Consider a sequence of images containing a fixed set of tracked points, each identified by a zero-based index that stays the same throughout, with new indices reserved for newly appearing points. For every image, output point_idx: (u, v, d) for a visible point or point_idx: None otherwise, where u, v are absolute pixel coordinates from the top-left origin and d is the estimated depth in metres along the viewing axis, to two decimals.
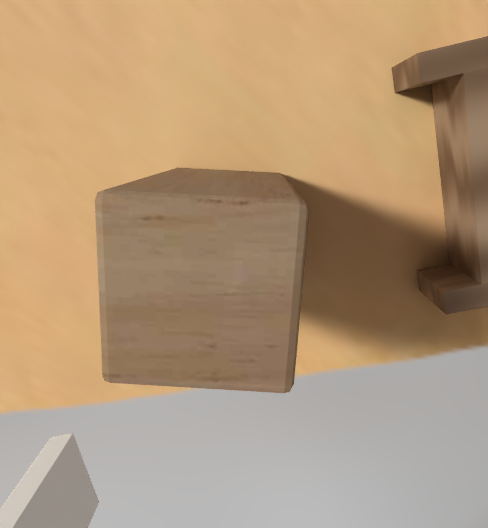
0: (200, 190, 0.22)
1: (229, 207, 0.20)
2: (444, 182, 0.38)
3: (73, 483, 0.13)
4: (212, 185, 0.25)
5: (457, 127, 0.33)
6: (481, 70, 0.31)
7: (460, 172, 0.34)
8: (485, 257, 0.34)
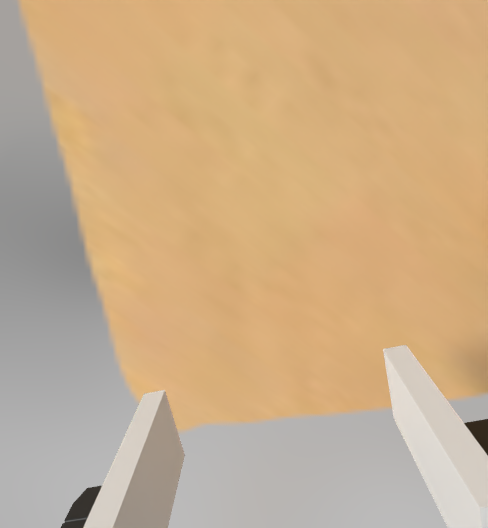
0: None
1: None
2: None
3: (168, 434, 0.14)
4: None
5: None
6: None
7: None
8: None
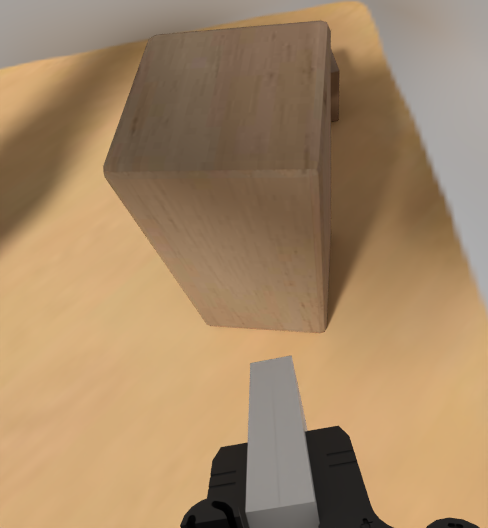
0: None
1: (139, 76, 0.22)
2: None
3: None
4: None
5: None
6: None
7: None
8: None
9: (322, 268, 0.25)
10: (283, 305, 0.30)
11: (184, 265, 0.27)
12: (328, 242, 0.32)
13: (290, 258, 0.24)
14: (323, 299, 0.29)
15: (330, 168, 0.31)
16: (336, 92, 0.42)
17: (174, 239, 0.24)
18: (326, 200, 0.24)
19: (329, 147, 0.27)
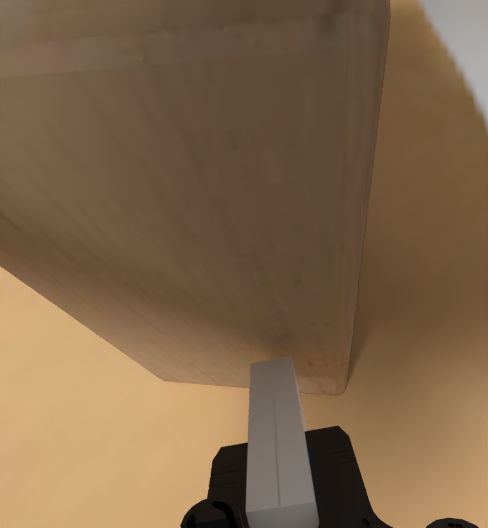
0: None
1: None
2: None
3: None
4: None
5: None
6: None
7: None
8: None
9: (352, 310, 0.12)
10: None
11: (81, 304, 0.14)
12: None
13: (285, 294, 0.11)
14: (347, 355, 0.16)
15: None
16: None
17: (34, 256, 0.11)
18: None
19: None
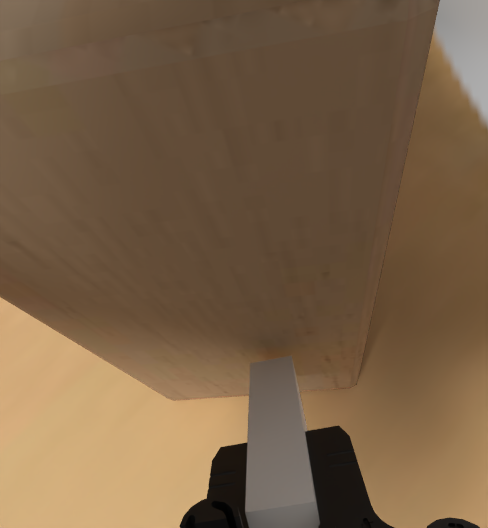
0: None
1: None
2: None
3: None
4: None
5: None
6: None
7: None
8: None
9: (375, 297, 0.12)
10: (293, 363, 0.17)
11: (94, 330, 0.13)
12: None
13: (311, 289, 0.11)
14: (364, 345, 0.16)
15: None
16: None
17: (47, 284, 0.10)
18: None
19: None
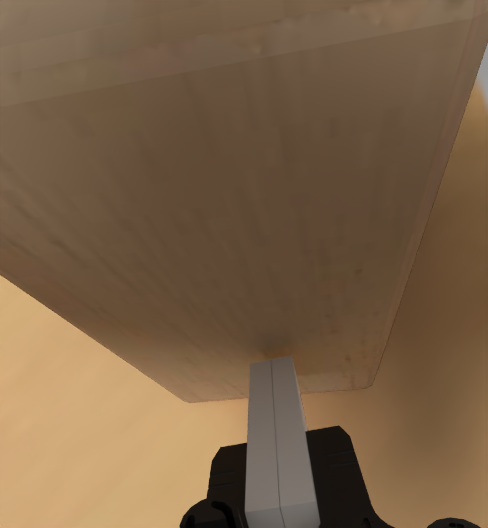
0: None
1: None
2: None
3: None
4: None
5: None
6: None
7: None
8: None
9: (402, 295, 0.12)
10: (313, 363, 0.17)
11: (121, 331, 0.13)
12: None
13: (341, 287, 0.11)
14: (385, 344, 0.16)
15: None
16: None
17: (84, 285, 0.11)
18: None
19: None
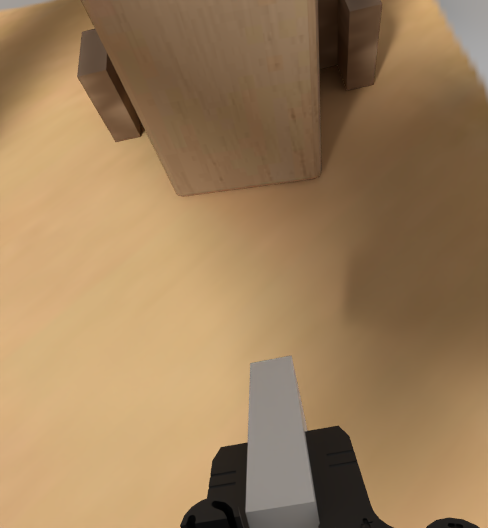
0: None
1: None
2: None
3: None
4: None
5: None
6: None
7: None
8: None
9: (316, 18, 0.19)
10: (269, 122, 0.24)
11: (134, 51, 0.20)
12: None
13: None
14: (317, 98, 0.23)
15: None
16: (374, 40, 0.29)
17: None
18: None
19: None
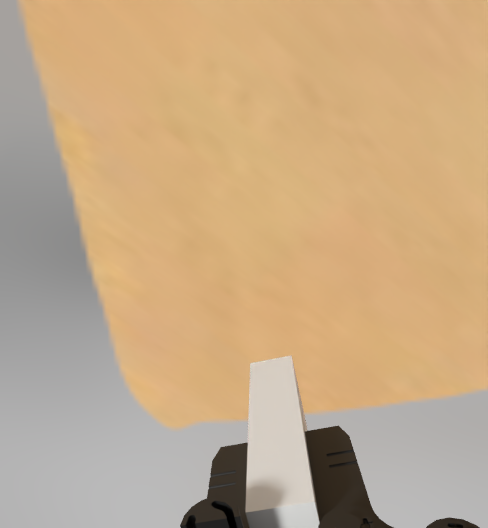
0: None
1: None
2: None
3: None
4: None
5: None
6: None
7: None
8: None
9: None
10: None
11: None
12: None
13: None
14: None
15: None
16: None
17: None
18: None
19: None
